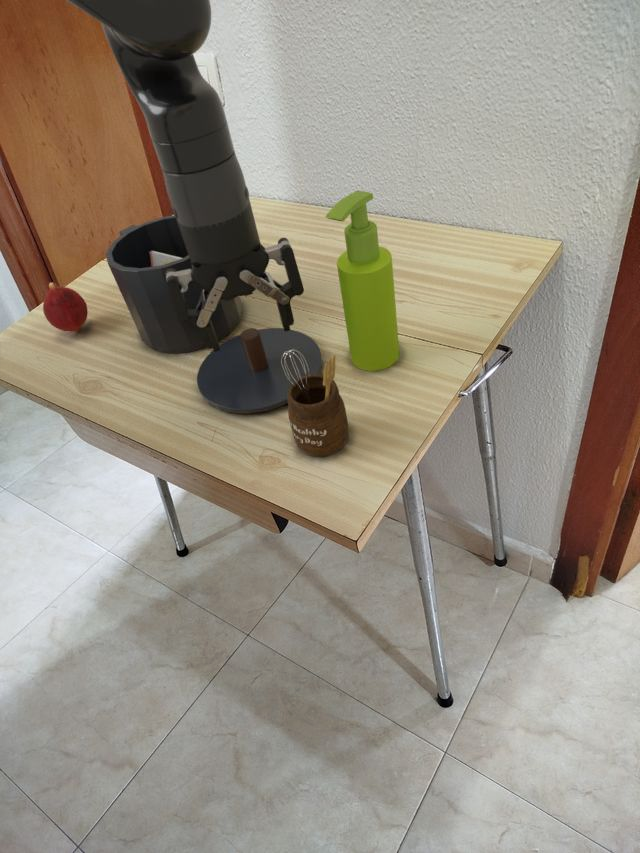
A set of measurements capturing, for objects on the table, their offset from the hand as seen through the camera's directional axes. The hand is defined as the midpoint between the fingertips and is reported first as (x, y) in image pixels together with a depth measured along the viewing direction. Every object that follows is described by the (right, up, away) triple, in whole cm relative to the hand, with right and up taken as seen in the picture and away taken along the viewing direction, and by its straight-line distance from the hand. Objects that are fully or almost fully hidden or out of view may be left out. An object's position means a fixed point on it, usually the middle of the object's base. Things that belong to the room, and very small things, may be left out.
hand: (251, 337), depth 69 cm
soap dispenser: (+14, -2, +2) cm, 15 cm away
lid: (+1, -3, +3) cm, 5 cm away
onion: (-28, +4, +18) cm, 33 cm away
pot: (-10, +4, +15) cm, 18 cm away
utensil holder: (+8, -12, -6) cm, 16 cm away
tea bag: (-10, +5, +14) cm, 18 cm away
